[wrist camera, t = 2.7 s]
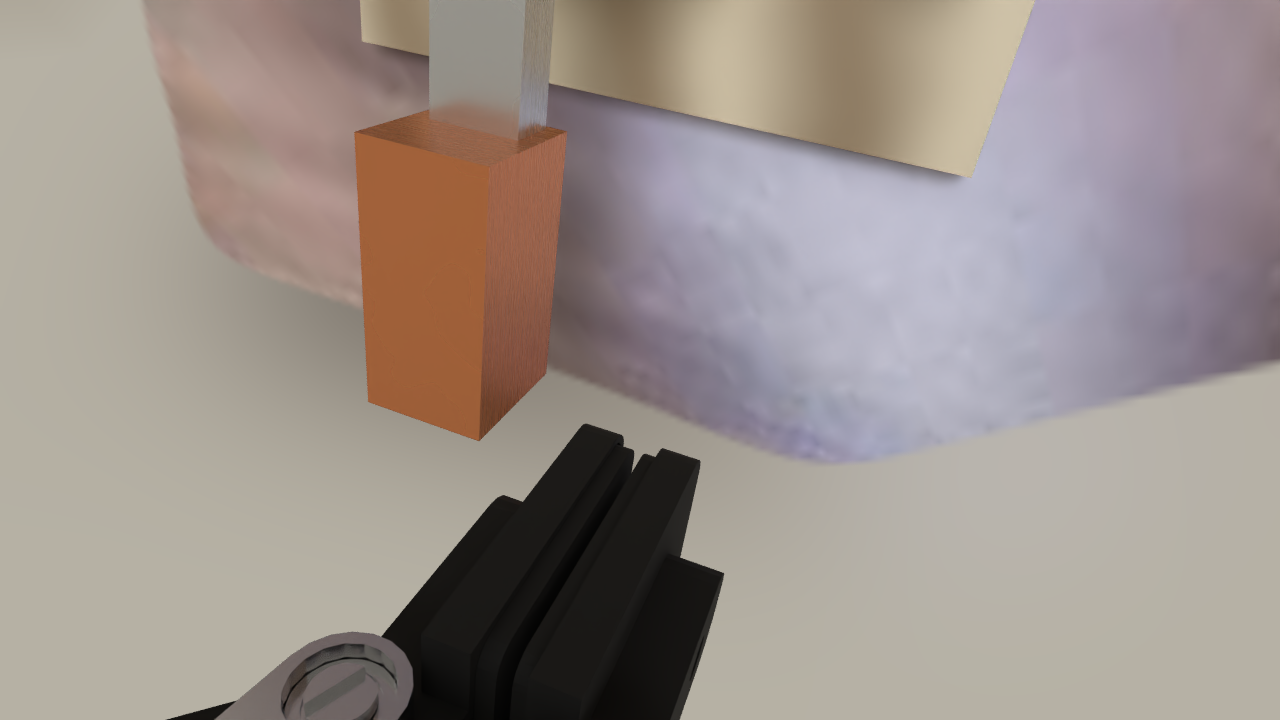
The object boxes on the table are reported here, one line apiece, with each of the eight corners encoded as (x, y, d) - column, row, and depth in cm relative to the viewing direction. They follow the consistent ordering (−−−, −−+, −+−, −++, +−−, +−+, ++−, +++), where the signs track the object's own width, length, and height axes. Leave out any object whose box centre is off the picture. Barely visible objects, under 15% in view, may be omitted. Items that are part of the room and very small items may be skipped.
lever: (445, -439, 13) (306, -544, 10) (628, -431, 12) (530, -542, 9) (440, 339, 20) (360, 399, 17) (553, 375, 19) (487, 443, 17)
